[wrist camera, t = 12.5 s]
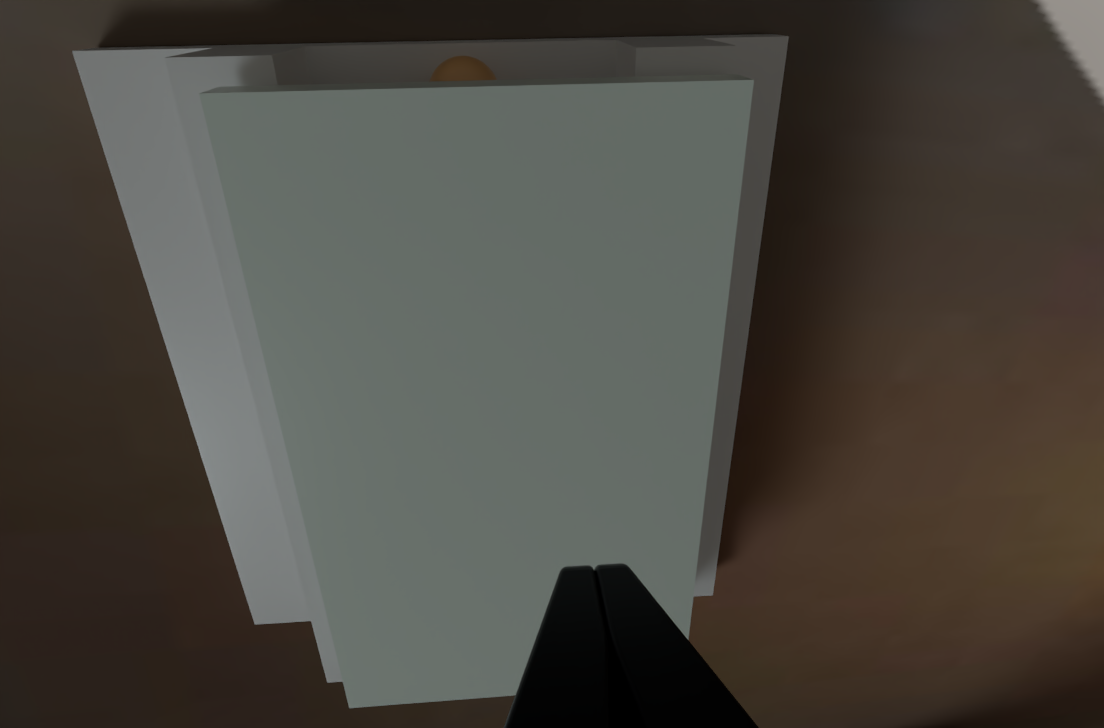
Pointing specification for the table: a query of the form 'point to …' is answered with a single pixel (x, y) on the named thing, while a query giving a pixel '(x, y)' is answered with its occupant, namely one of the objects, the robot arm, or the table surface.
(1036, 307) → the table surface
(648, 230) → the duct cover
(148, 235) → the base
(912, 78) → the table surface
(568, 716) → the robot arm
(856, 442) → the table surface
